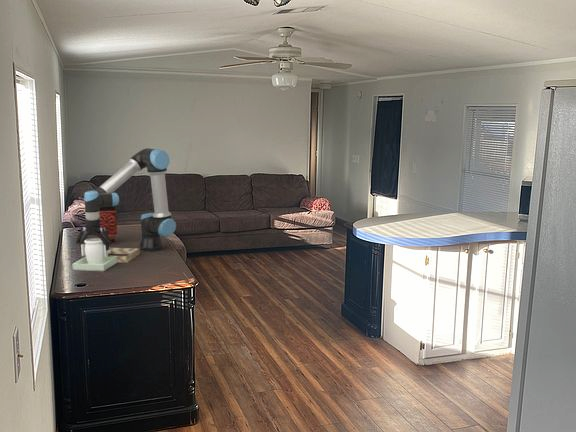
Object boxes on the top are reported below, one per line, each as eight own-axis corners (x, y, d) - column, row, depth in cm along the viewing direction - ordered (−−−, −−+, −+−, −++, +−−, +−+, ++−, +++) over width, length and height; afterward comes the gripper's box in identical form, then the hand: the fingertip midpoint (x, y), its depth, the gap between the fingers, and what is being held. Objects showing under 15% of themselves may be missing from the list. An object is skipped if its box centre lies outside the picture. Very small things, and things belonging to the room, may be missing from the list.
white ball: (136, 254, 352) (136, 249, 352) (134, 256, 349) (134, 250, 349) (131, 254, 353) (131, 249, 352) (129, 255, 350) (129, 250, 349)
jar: (87, 268, 319) (85, 242, 316) (84, 264, 328) (82, 238, 325) (106, 266, 324) (105, 240, 321) (103, 262, 333) (102, 237, 330)
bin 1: (116, 262, 334) (116, 256, 333) (103, 271, 316) (103, 265, 316) (87, 261, 336) (87, 255, 335) (72, 270, 318) (72, 263, 318)
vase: (117, 239, 391) (114, 196, 386) (117, 244, 379) (115, 199, 373) (95, 241, 387) (93, 197, 381) (95, 245, 374) (93, 200, 369)
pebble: (112, 253, 354) (111, 248, 353) (110, 255, 351) (109, 250, 350) (107, 253, 354) (107, 248, 354) (105, 254, 351) (104, 249, 351)
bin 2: (139, 254, 354) (139, 248, 353) (127, 262, 334) (127, 256, 334) (105, 252, 356) (105, 247, 355) (91, 261, 337) (91, 255, 336)
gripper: (116, 218, 323) (118, 254, 327) (74, 217, 326) (76, 253, 330) (111, 220, 316) (113, 258, 320) (68, 219, 319) (70, 256, 323)
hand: (94, 255), depth 325 cm, fingers open, 13 cm apart
